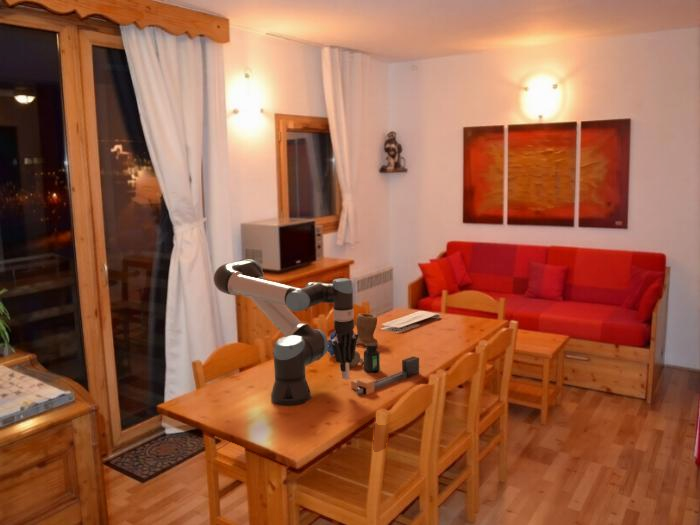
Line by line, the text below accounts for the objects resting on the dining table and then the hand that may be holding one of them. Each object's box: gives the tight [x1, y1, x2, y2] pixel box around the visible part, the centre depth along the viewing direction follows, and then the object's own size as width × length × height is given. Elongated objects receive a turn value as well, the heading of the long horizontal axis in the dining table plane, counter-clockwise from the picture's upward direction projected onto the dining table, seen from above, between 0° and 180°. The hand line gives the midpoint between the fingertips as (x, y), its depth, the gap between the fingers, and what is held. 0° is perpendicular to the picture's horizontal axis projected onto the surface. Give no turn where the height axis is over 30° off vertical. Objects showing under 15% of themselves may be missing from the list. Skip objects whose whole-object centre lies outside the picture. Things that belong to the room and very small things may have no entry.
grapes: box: [327, 330, 336, 357], centre depth 281 cm, size 12×7×12 cm, turn 144°
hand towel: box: [380, 310, 441, 334], centre depth 333 cm, size 12×4×40 cm
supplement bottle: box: [363, 343, 381, 374], centre depth 257 cm, size 7×7×12 cm
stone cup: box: [355, 312, 378, 346], centre depth 298 cm, size 15×12×15 cm
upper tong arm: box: [356, 356, 417, 396], centre depth 242 cm, size 34×3×7 cm, turn 133°
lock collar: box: [350, 377, 375, 396], centre depth 235 cm, size 4×9×4 cm, turn 43°
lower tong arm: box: [374, 356, 420, 391], centre depth 243 cm, size 30×1×7 cm, turn 133°
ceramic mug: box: [350, 349, 364, 367], centre depth 268 cm, size 11×8×8 cm
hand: (345, 378), depth 232 cm, fingers closed
